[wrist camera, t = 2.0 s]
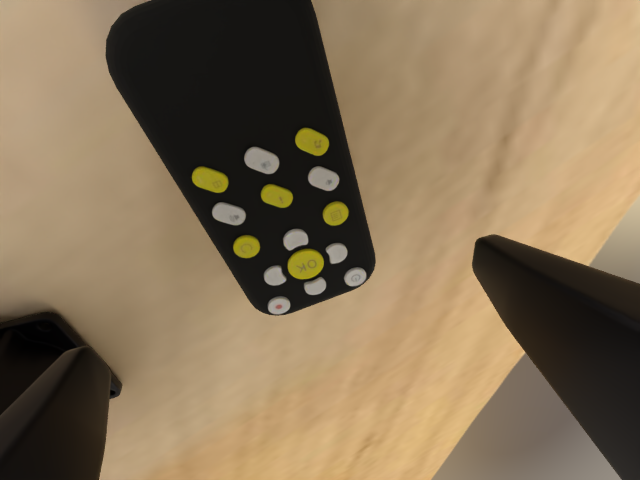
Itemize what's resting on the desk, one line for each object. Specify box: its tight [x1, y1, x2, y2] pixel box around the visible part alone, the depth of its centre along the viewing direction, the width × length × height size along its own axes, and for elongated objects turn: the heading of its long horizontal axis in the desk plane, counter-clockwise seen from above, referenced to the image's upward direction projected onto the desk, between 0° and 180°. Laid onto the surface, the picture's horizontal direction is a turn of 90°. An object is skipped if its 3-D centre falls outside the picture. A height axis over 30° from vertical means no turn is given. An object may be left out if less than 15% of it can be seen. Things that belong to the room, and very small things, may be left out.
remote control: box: [106, 0, 376, 315], centre depth 13 cm, size 6×13×2 cm, turn 17°
